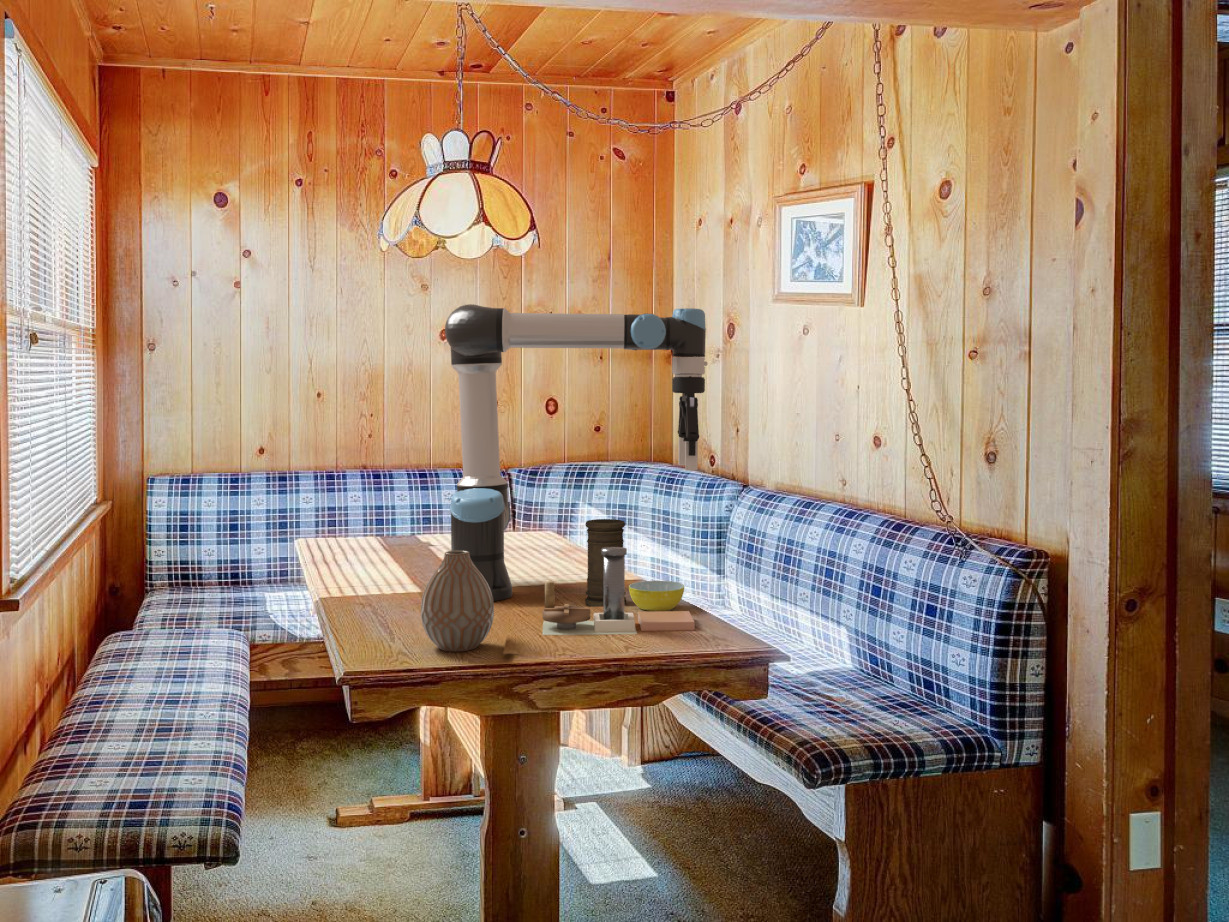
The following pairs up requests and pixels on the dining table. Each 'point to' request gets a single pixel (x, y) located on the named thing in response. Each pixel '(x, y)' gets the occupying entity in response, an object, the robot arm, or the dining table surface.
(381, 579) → the dining table surface
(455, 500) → the robot arm
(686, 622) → the rest tile
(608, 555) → the metal flanged cylinder
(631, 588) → the bowl
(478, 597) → the vase
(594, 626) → the plate
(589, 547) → the container
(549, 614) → the handwheel
